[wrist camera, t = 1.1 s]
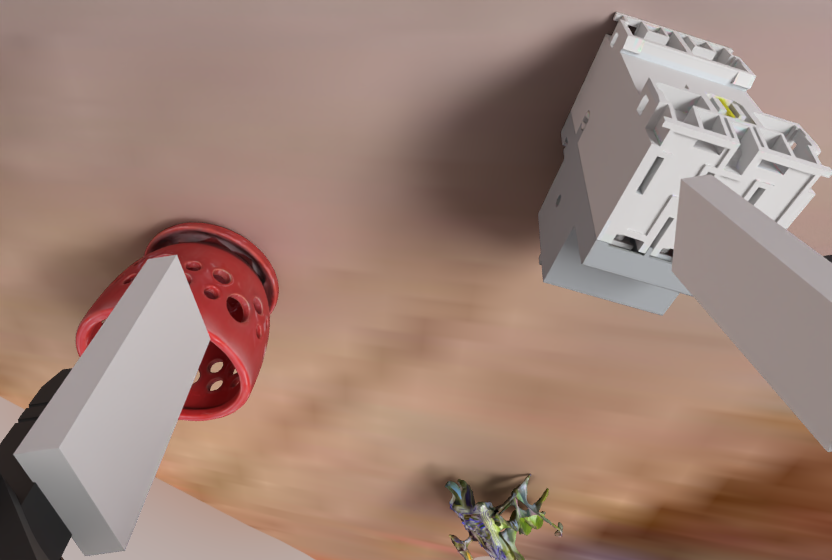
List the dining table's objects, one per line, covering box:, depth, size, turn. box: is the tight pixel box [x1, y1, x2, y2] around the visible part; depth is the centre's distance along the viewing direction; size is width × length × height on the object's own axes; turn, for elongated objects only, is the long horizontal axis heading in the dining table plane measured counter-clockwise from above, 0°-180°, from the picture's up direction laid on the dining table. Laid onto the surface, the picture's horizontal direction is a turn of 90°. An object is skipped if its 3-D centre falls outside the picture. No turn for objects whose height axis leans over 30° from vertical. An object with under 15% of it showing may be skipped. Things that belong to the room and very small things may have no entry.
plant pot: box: [76, 223, 279, 421], centre depth 48 cm, size 13×13×12 cm
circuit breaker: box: [538, 12, 832, 315], centre depth 34 cm, size 8×14×15 cm, turn 165°
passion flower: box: [445, 474, 563, 560], centre depth 65 cm, size 11×11×12 cm
